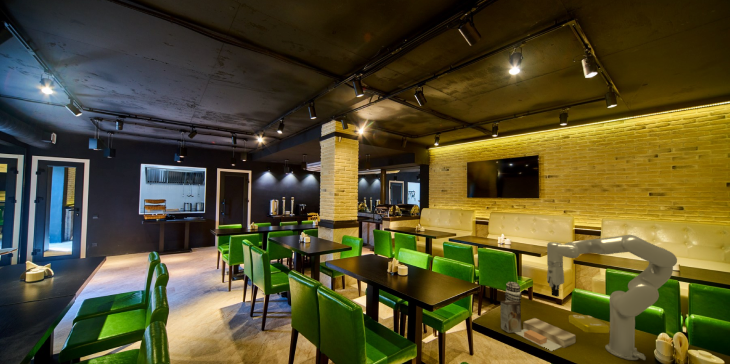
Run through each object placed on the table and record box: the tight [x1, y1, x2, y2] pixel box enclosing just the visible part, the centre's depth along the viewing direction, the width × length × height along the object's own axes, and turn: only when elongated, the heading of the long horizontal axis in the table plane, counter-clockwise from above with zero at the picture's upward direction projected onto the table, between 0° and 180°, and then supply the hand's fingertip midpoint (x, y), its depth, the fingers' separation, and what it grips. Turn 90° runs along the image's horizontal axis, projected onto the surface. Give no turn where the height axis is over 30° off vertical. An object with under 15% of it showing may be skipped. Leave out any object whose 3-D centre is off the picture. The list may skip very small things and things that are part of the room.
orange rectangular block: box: [523, 330, 547, 346], centre depth 154 cm, size 9×6×2 cm, turn 28°
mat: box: [514, 329, 563, 352], centre depth 154 cm, size 20×10×1 cm, turn 29°
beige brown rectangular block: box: [522, 317, 577, 349], centre depth 159 cm, size 22×12×4 cm, turn 29°
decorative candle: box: [504, 281, 522, 304], centre depth 173 cm, size 9×9×25 cm
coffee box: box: [499, 300, 522, 334], centre depth 164 cm, size 9×6×16 cm
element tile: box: [568, 314, 610, 334], centre depth 172 cm, size 15×15×5 cm
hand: (555, 295), depth 161 cm, fingers closed
